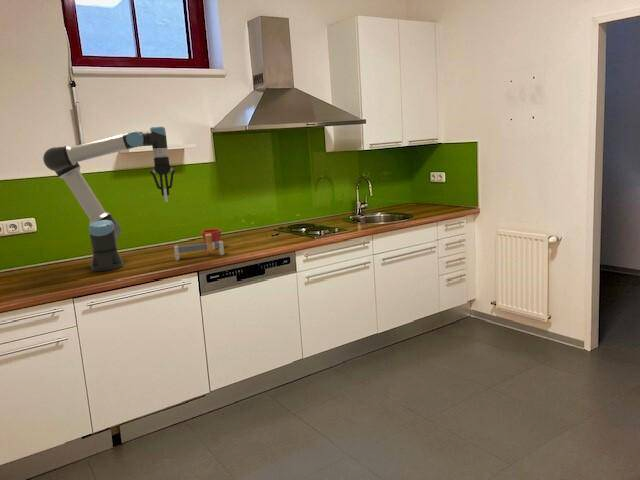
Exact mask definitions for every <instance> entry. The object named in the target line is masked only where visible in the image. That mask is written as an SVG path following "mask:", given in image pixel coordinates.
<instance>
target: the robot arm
mask: <svg viewBox="0 0 640 480" xmlns="http://www.w3.org/2000/svg"><path fill="white" fill-rule="evenodd" d="M167 140H168V139H167V132H166V128H165V127H164V126H163V125H162V126H150V128H149V130H148V131H147V130H146V131H137V130H132V131H129V132H127V133H122V134H118V135H114V136H110V137H105V138H101V139H98V140H94V141H89V142H87V143H82V144H79V145H74V146H70V145H65V146H57V147H56V146H55V147H51V148H48V149H47V150H46V151H45V152H44V154H43V156H42V157H43V158H42V160H43V164H44V165H45V167H46V168H47V169H49V170H51V171H53V172H54V173H55V174H56V175H57V177H58V178H59V179H62V180H64V182H65V184H66V185H67V187H68V188H69V190H70V191H71V193H72V195H73V196H74V197H75V199H76V201H77V202H78V203H79V206H80V207H81V209H82V210H83V211H84V213H85V215H86V216H87V218H89V225H88V233H89V237H90V244H91V250H92V257H91V263H90V268H91V271H93V272H106V271H113V270H115V269H119V268H121V267H123V266H124V261H123V259H122V257H121V255H120V253H119V252H118V251H119V250H118V244H117V240H118V238H119V237H120V234H121V225H120V223H119V222H118V221H117V220H116V219H114V217H113V216H112V214H111V213H110V212H107V211H106V210H105V209H104V208H103V205H102V203H100V201H99V199H98V198H97V196H96V195H95V193H94V191H93V190H92V188H91V186H90V185H89V183H88V182H87V181H86V179H85V178H84V175H82V173H81V165H80V162H83V161H86V160H91V159H94V158H95V159H96V158H98V157H99V158H100V157H102V156H105V155H106V156H107V155H111V154H115V153H118V152H121V151H126V150H130V149H135V148H138V147H139V148H141V147H151V146H152V154H153V155H152V156H153V157H154V158H153V162H154V163H153V164H154V167H153V169H152V170H150V171H149V173H150V174H151V176H152V178H153V180H154V182H155V185H156V188H157V189H159V190H161V196H162V197H164V203H168V202H169V197H168V196H169V195H170V189H171V188H172V187H173V183H174V182H173V180H174V174H175V172H176V169H174V168H173V167H171V165H170V164H171V163H170V157H169V150H168V141H167ZM169 172H170V179H168V174H169ZM156 173H157V174H158V175H159V181H158V178H157V176H156ZM163 175H164V181H165V187H164V181H163ZM159 182H160V183H159Z"/></svg>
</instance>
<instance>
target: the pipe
mask: <svg viewBox="0 0 640 480" xmlns="http://www.w3.org/2000/svg"><path fill="white" fill-rule="evenodd" d="M212 244H213V250H215V249H218V250H219V255H220V256H224V255H225V249H224V242H223V240H220V241H218V242H212ZM173 251H174V258H175V261H180V253H189V252H197V251H198V252H200V251H207V244H206V243H204V242H203V243H195V244H183V245H174V246H173Z"/></svg>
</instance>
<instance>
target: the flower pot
mask: <svg viewBox="0 0 640 480" xmlns="http://www.w3.org/2000/svg"><path fill="white" fill-rule="evenodd" d="M209 233H211V235H212V242H218V241H221V236H222V235H221V234H222V229H218V228H211V229H204V230H202V231H201V236H202V238H203V243H206V237H205V234H209Z"/></svg>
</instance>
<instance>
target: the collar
mask: <svg viewBox="0 0 640 480" xmlns="http://www.w3.org/2000/svg"><path fill="white" fill-rule="evenodd" d="M205 237H206V244H207V250H206V253H207V255H210V254H211V255H212V254H213V255H214V249H213V244H212V235H211V233H209V234H205Z"/></svg>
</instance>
